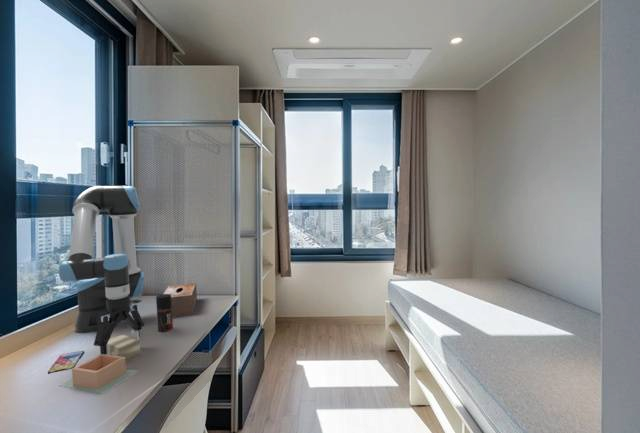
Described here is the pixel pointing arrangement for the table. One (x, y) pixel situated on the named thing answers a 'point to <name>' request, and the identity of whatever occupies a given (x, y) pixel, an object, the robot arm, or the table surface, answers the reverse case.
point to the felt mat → (106, 387)
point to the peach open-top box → (98, 371)
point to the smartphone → (66, 361)
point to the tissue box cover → (182, 298)
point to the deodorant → (164, 312)
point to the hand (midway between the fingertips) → (122, 354)
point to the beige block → (124, 346)
